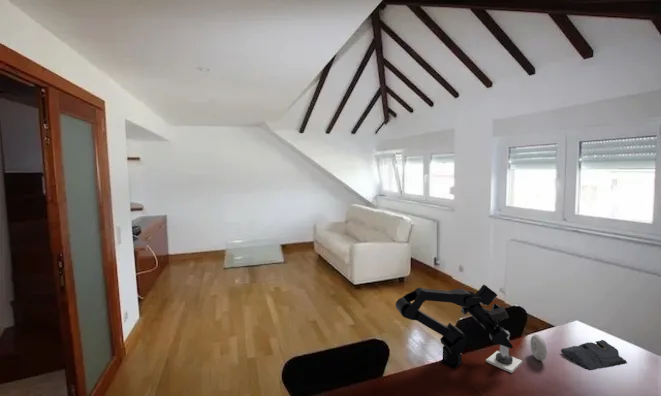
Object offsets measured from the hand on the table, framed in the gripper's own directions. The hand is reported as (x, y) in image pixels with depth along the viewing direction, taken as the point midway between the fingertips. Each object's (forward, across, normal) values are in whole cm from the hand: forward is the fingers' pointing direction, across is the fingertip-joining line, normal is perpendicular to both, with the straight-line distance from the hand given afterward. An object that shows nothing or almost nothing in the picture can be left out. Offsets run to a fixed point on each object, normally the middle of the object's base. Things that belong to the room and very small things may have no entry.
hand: (508, 341), depth 133 cm
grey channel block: (+5, 0, +7) cm, 8 cm away
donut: (+16, +5, -3) cm, 17 cm away
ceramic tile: (+5, 0, +7) cm, 9 cm away
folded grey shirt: (+32, +10, -18) cm, 38 cm away
